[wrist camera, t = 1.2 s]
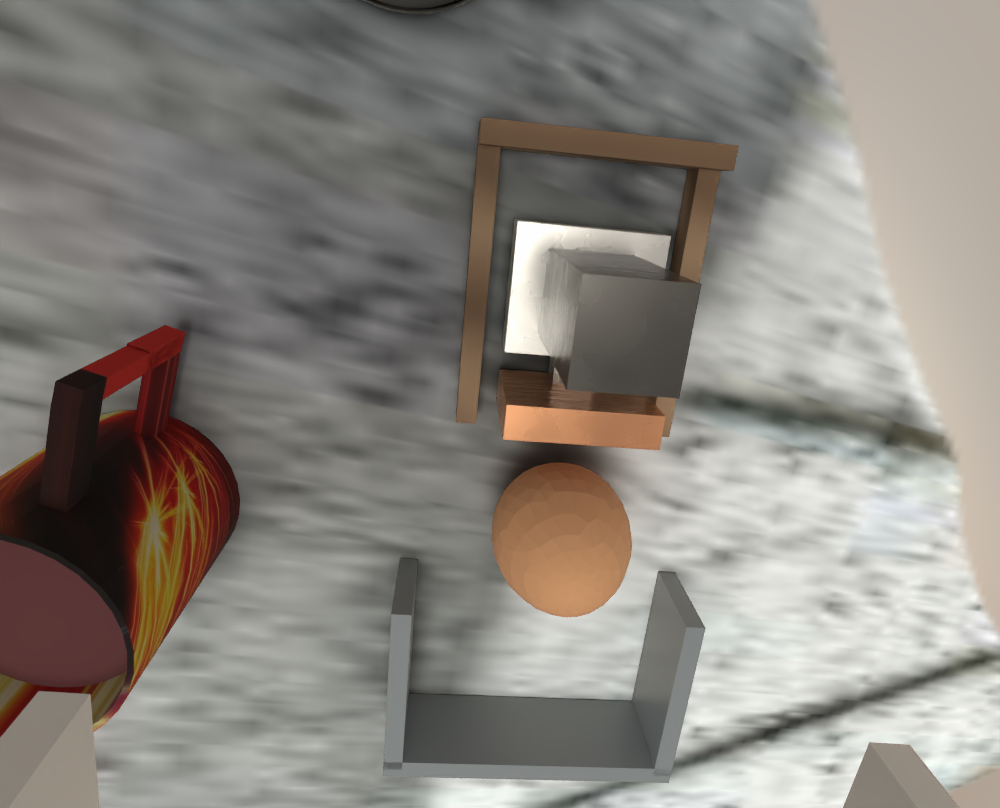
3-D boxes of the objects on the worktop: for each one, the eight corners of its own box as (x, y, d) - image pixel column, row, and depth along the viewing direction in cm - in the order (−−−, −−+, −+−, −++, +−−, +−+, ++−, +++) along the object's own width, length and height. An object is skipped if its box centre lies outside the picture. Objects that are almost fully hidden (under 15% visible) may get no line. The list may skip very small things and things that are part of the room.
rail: (479, 123, 30) (481, 117, 27) (712, 148, 30) (738, 145, 28) (456, 412, 34) (456, 433, 31) (660, 426, 35) (678, 448, 32)
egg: (620, 444, 35) (670, 528, 27) (598, 552, 37) (638, 662, 29) (496, 432, 35) (507, 515, 26) (481, 543, 37) (488, 652, 28)
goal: (400, 558, 37) (391, 614, 32) (675, 572, 38) (705, 628, 33) (392, 705, 40) (382, 776, 35) (644, 713, 41) (668, 782, 37)
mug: (192, 317, 32) (44, 394, 20) (259, 560, 36) (167, 733, 25) (-6, 342, 32) (-269, 432, 20) (85, 582, 36) (-86, 767, 25)
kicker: (514, 218, 31) (540, 237, 21) (658, 232, 31) (751, 257, 21) (496, 398, 34) (511, 491, 24) (628, 408, 34) (698, 503, 24)
